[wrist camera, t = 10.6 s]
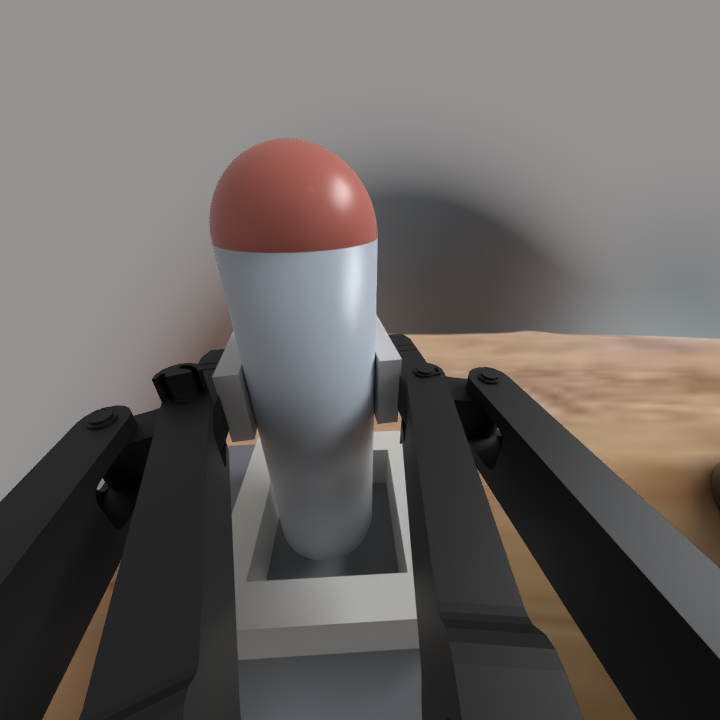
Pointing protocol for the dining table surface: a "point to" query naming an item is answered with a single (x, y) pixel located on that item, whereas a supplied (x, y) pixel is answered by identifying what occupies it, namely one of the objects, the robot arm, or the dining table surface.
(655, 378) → the dining table surface
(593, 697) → the dining table surface
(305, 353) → the red-tipped grey joystick
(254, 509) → the jig
